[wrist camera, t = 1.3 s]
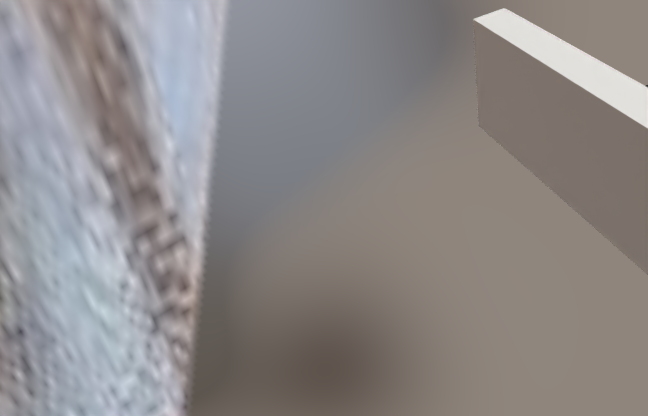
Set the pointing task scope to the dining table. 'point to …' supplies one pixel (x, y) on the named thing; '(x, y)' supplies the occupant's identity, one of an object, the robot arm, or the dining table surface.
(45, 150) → the dining table surface
